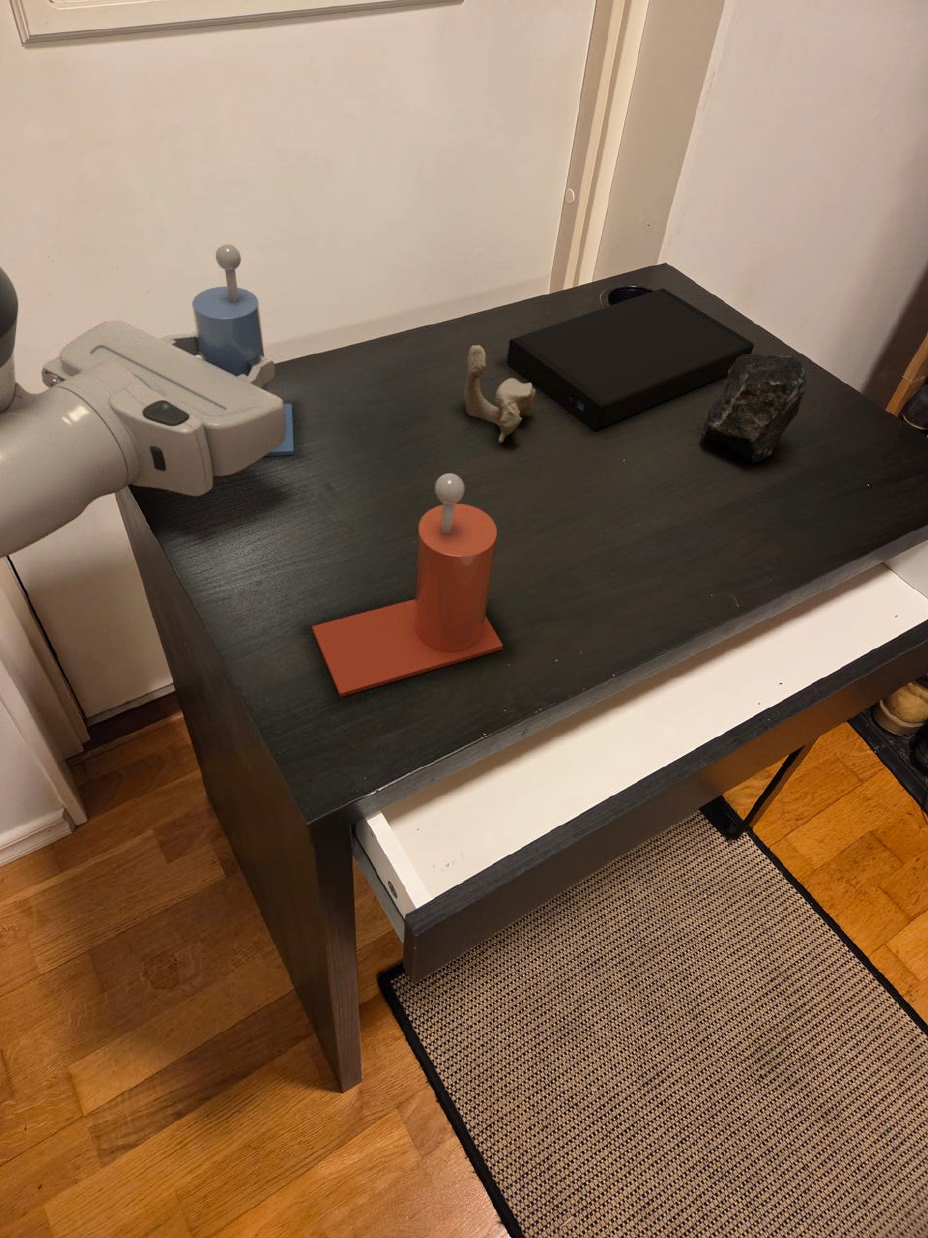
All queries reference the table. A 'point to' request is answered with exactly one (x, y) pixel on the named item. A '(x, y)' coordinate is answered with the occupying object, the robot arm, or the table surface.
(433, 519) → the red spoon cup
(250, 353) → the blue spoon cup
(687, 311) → the external hard drive
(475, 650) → the red mat
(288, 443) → the blue mat
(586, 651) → the table surface
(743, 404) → the rock
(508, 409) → the bone
